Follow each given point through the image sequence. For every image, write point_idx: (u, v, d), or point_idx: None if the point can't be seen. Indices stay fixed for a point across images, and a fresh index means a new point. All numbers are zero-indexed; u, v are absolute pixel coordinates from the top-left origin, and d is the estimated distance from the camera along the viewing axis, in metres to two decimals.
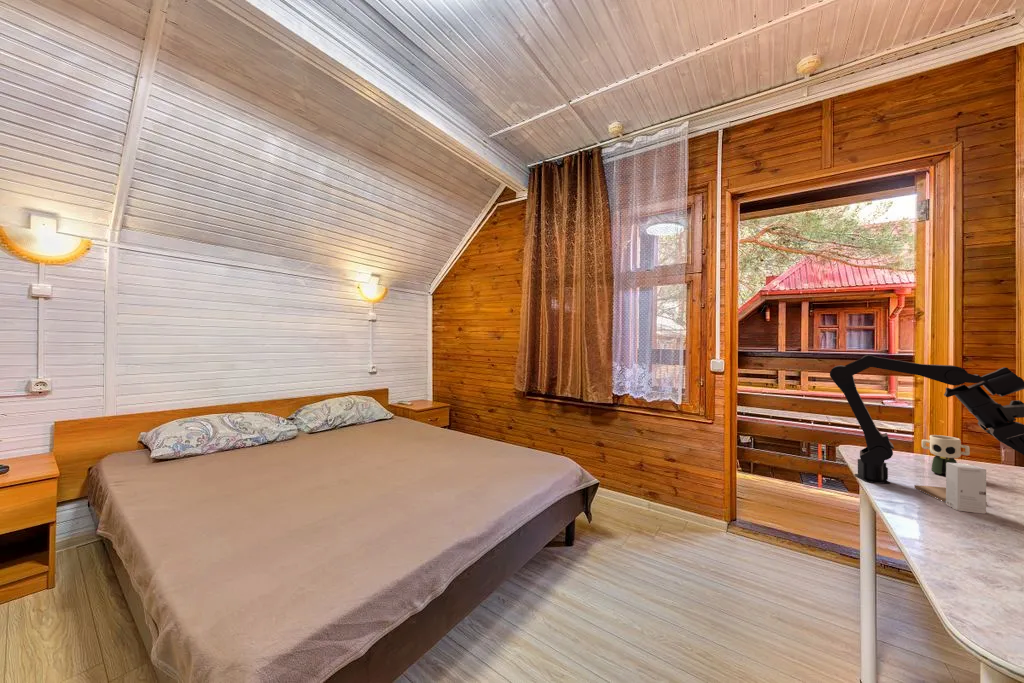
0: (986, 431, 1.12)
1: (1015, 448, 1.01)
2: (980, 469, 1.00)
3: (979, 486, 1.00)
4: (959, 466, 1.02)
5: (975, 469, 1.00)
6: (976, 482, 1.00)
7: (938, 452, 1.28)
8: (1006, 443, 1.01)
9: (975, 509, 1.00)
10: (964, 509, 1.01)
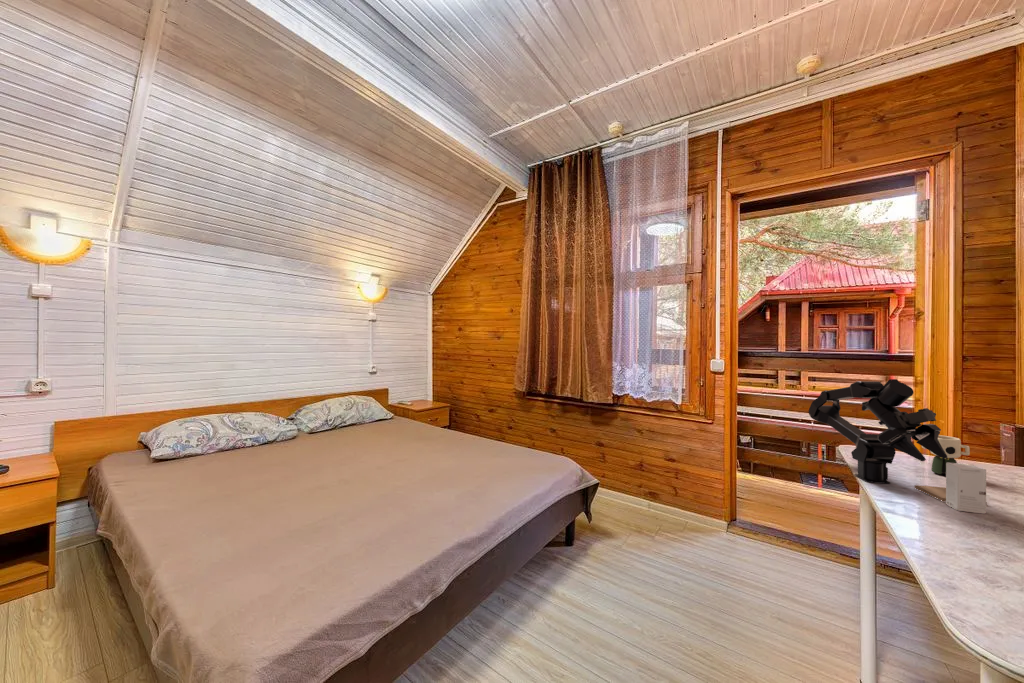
0: None
1: (905, 451, 1.10)
2: (980, 469, 1.00)
3: (979, 486, 1.00)
4: (959, 466, 1.02)
5: (975, 469, 1.00)
6: (976, 482, 1.00)
7: None
8: (895, 447, 1.12)
9: (975, 509, 1.00)
10: (964, 509, 1.01)
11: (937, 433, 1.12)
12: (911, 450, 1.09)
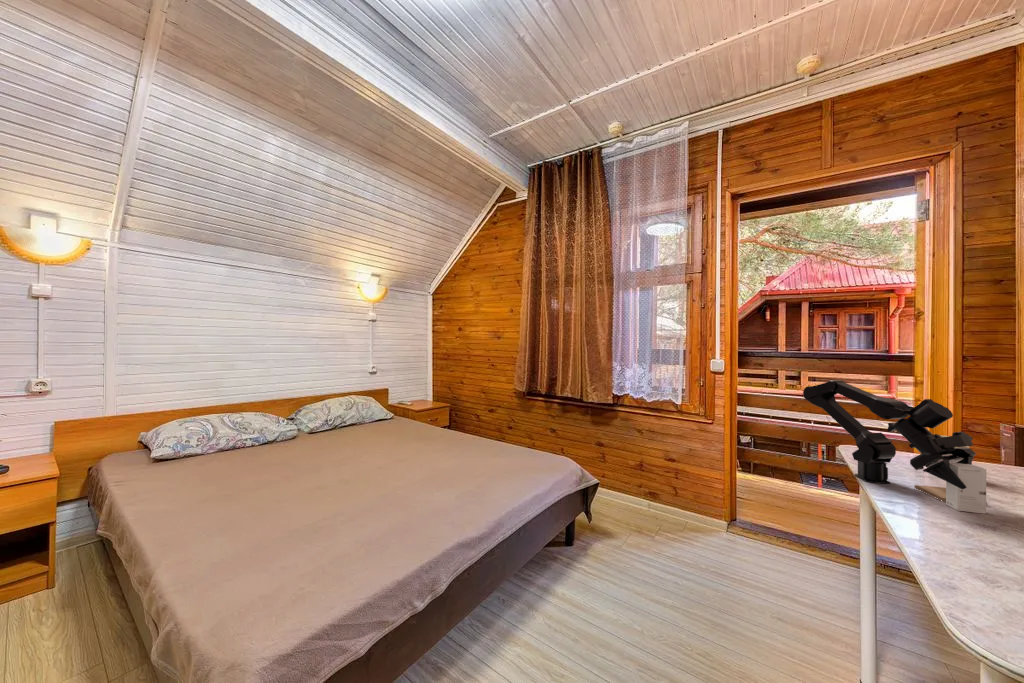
0: None
1: (943, 478, 1.03)
2: (980, 469, 1.00)
3: (979, 486, 1.00)
4: (959, 466, 1.02)
5: (975, 469, 1.00)
6: (976, 482, 1.00)
7: None
8: (932, 473, 1.05)
9: (975, 509, 1.00)
10: (964, 509, 1.01)
11: (971, 458, 1.05)
12: (950, 476, 1.02)
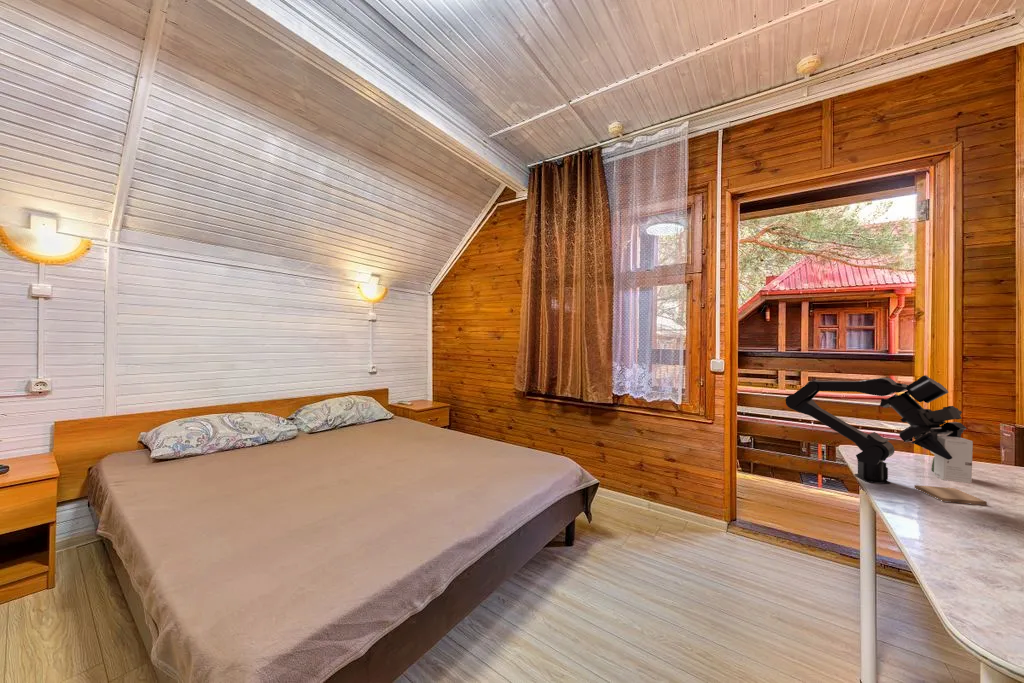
0: None
1: (930, 449, 1.08)
2: (967, 441, 1.04)
3: (965, 457, 1.04)
4: (946, 438, 1.06)
5: (962, 441, 1.05)
6: (962, 454, 1.04)
7: None
8: (920, 445, 1.09)
9: (961, 479, 1.04)
10: (950, 479, 1.05)
11: (960, 432, 1.09)
12: (937, 448, 1.06)
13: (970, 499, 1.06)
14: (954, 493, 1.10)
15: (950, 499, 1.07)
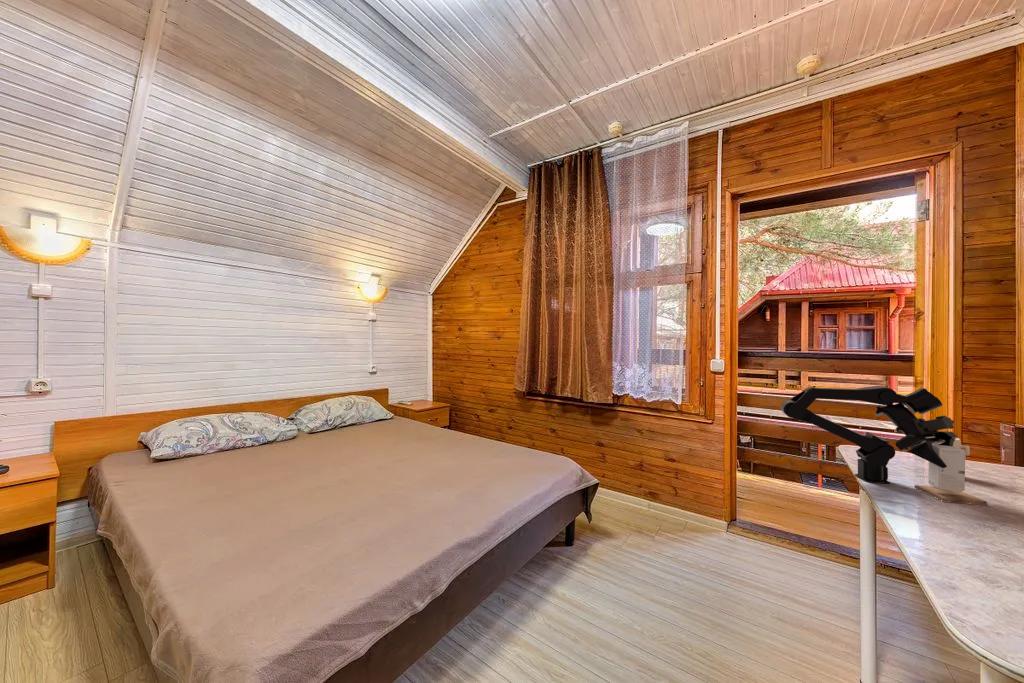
0: None
1: (925, 458, 1.11)
2: (960, 450, 1.08)
3: (958, 466, 1.08)
4: (941, 447, 1.10)
5: (955, 450, 1.08)
6: (956, 462, 1.08)
7: None
8: (916, 454, 1.13)
9: (955, 487, 1.08)
10: (945, 487, 1.09)
11: (952, 440, 1.13)
12: (932, 457, 1.10)
13: (970, 499, 1.06)
14: (954, 493, 1.10)
15: (950, 499, 1.07)
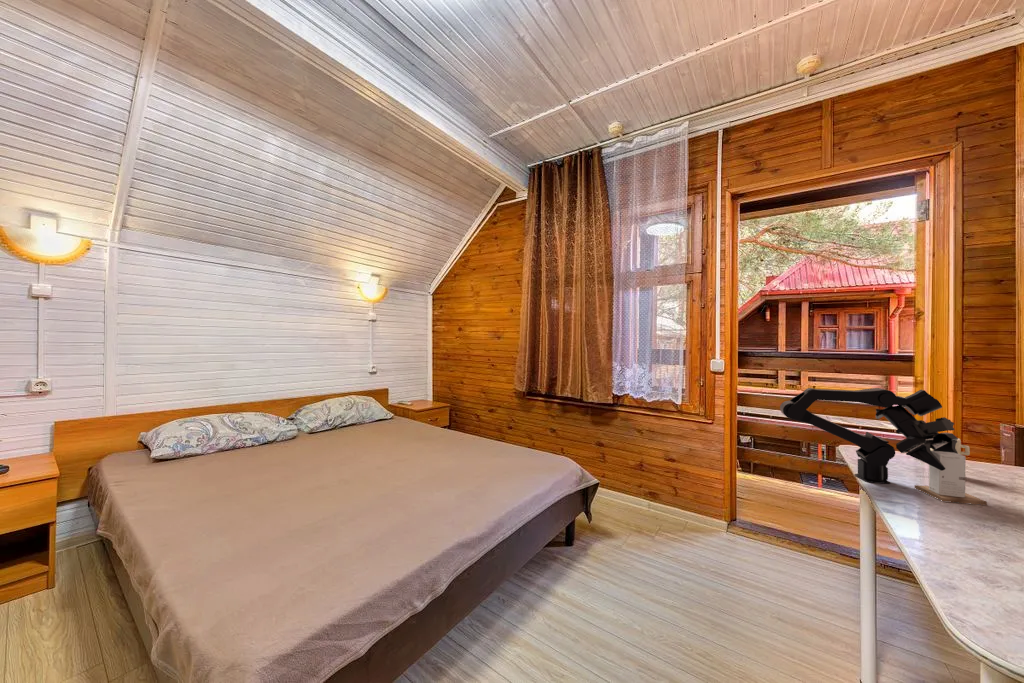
0: None
1: (924, 460, 1.11)
2: (960, 456, 1.08)
3: (959, 472, 1.08)
4: (941, 454, 1.10)
5: (955, 456, 1.08)
6: (956, 468, 1.08)
7: None
8: (914, 456, 1.12)
9: (955, 493, 1.08)
10: (945, 493, 1.09)
11: (954, 442, 1.13)
12: (931, 459, 1.09)
13: (970, 499, 1.06)
14: None
15: (950, 499, 1.07)
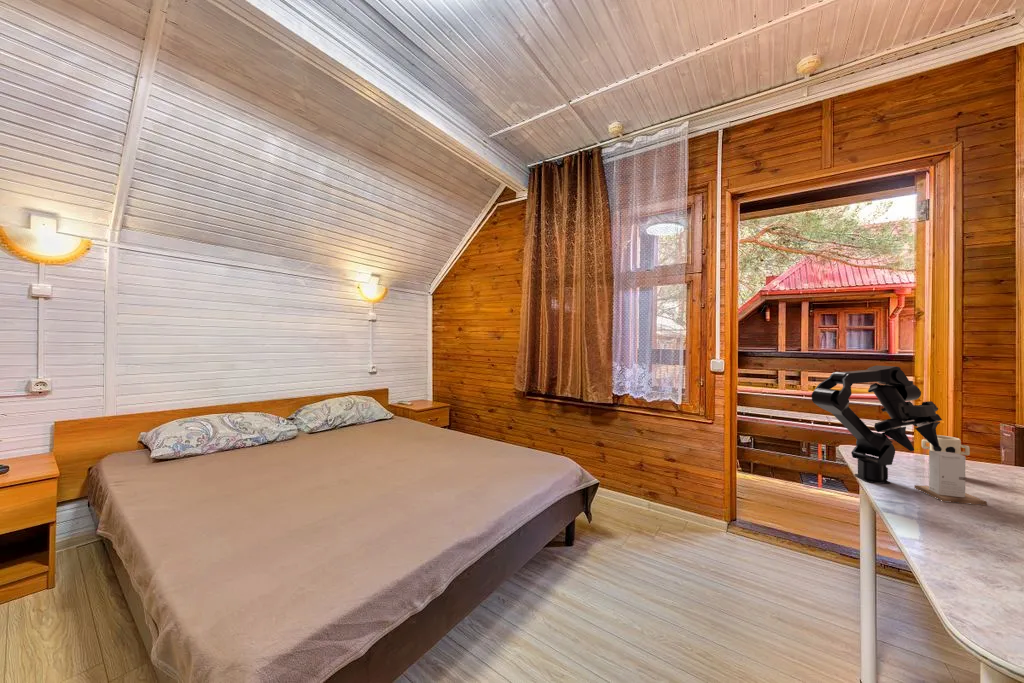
0: None
1: (897, 440, 1.19)
2: (960, 456, 1.08)
3: (959, 472, 1.08)
4: (941, 454, 1.10)
5: (955, 456, 1.08)
6: (956, 468, 1.08)
7: None
8: (889, 436, 1.20)
9: (955, 493, 1.08)
10: (945, 493, 1.09)
11: (936, 423, 1.18)
12: (903, 440, 1.17)
13: (970, 499, 1.06)
14: None
15: (950, 499, 1.07)
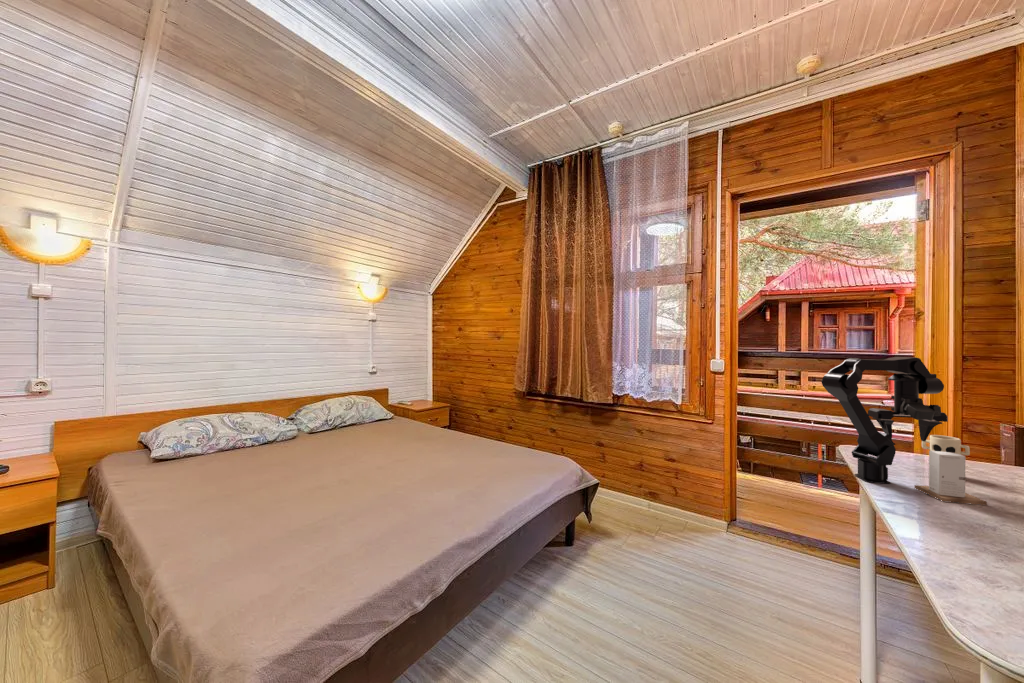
0: None
1: (882, 427, 1.28)
2: (960, 456, 1.08)
3: (959, 472, 1.08)
4: (941, 453, 1.10)
5: (955, 456, 1.08)
6: (956, 468, 1.08)
7: None
8: (878, 421, 1.29)
9: (955, 493, 1.08)
10: (945, 493, 1.09)
11: (936, 423, 1.21)
12: (886, 429, 1.26)
13: (970, 499, 1.06)
14: None
15: (950, 499, 1.07)
